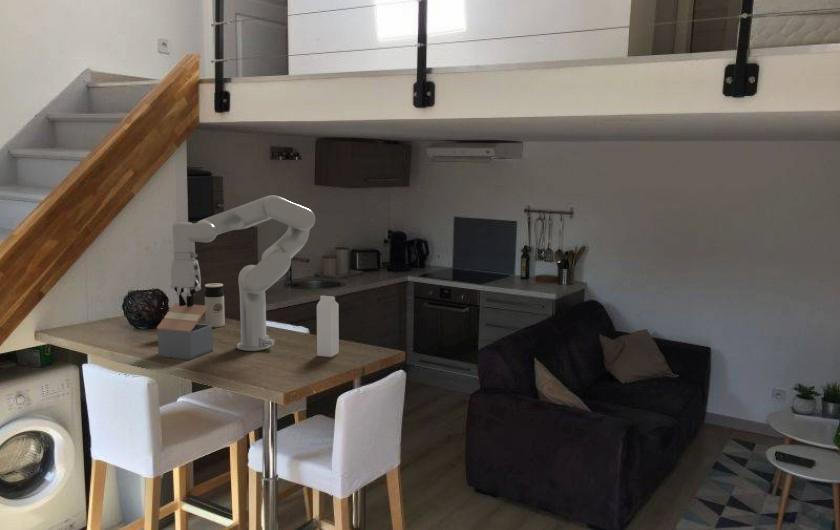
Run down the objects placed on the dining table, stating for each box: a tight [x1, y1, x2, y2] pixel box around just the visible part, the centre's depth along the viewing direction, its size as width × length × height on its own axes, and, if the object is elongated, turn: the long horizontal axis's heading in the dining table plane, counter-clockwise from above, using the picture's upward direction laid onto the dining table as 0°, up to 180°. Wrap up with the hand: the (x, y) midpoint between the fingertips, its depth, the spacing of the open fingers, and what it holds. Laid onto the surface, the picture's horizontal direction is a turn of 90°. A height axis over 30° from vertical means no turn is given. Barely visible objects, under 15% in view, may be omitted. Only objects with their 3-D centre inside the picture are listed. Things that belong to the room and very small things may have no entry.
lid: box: [156, 291, 208, 333], centre depth 253 cm, size 14×13×7 cm
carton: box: [157, 323, 214, 361], centre depth 258 cm, size 14×13×10 cm
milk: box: [316, 295, 340, 358], centre depth 258 cm, size 6×6×22 cm
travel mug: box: [204, 282, 226, 328], centre depth 302 cm, size 8×8×18 cm
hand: (186, 305), depth 257 cm, fingers closed on lid, 2 cm apart
